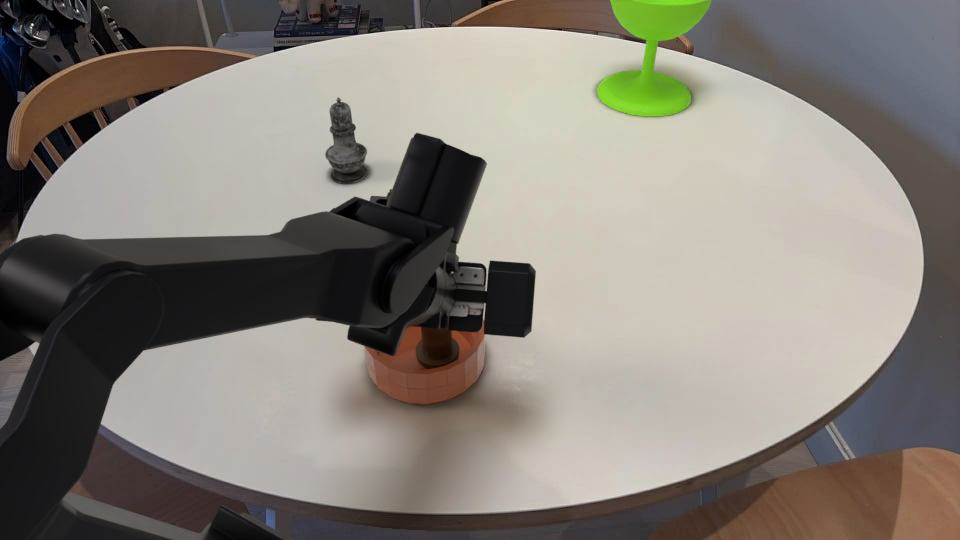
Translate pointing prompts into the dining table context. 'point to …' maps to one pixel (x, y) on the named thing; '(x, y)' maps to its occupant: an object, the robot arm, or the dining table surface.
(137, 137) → the dining table surface
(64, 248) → the robot arm
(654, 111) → the wineglass
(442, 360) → the brown cylinder
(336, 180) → the grey chess piece
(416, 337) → the bowl
